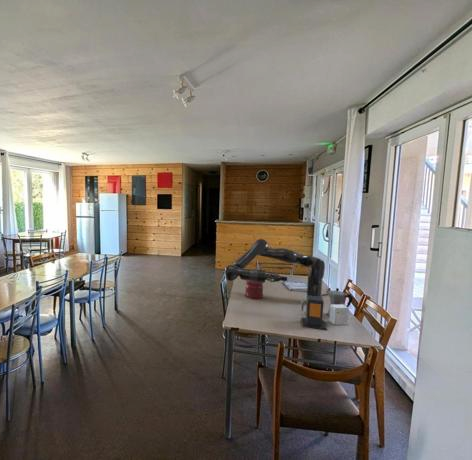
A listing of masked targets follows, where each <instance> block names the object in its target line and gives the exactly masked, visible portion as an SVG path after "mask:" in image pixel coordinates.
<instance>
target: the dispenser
mask: <svg viewBox="0 0 472 460" xmlns="http://www.w3.org/2000/svg"><path fill="white" fill-rule="evenodd" d="M306 299H307V303H306V307H305V311H302V313H303V315H305V317H301V322H302V327H304V328H309V329H316V330H323V331H327V326H326V323H325V320H323V317H324V316H323V315H324V299H323V296H321V297H319V296H310V295H307V294H306Z"/></svg>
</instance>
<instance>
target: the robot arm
mask: <svg viewBox="0 0 472 460" xmlns="http://www.w3.org/2000/svg"><path fill="white" fill-rule="evenodd" d="M257 256H258V257H265V258H270V259H273V260H278V261H280V262H284V263H288V264H293V265H300V266H303V267H306V268H308V269H310V274H308V275H307V285H306V286H307V291H306V296H307V295H310V296H319V297H323V296H329V295H328V294H327V293H323V294H322V290H323V278H324V276H325V268H326V263H325V261H324V260H323V259H322V258H320V257H317V256H311V255H306V254H302V253H299V252H298V251H294V250H292V249H289V248H285V247H277V248H276V247H273V248H272V247H269V243H268V241H267V240H265V239H263V238H259V239H256V240H255V241H254V242H253V243H252V245H251V246H250V248H249V250H247V251H246V252H244V254H242V255H241V256H240V257H238V258H237V259H236V260H235V262H234V263H233V264H228V265H226V266H225V268H224V273H225V279H226V280H227V281H229V282H233V281H235V280H236V279H238V278H240V280H243V281H246V280H250V281H254V282H262V283H263V284H264V283H266V281H268V282H270V283H277V282H280V281H282V282H283V281H288V277H287V276H282V275H280V274H277V273H273V272H271V273H270V272H268V273H267V271H266V270H263V269H251V268H246V267H247V266H248V265H250V263H252V262H253V260H254V259H255V258H257ZM328 291H331V287H329V288H328ZM305 299H306V301H305V302H306V304H307V298H305Z"/></svg>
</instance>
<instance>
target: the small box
mask: <svg viewBox="0 0 472 460" xmlns="http://www.w3.org/2000/svg"><path fill="white" fill-rule="evenodd" d="M345 305H346V304H345ZM345 305H344V303H343V304H335V305H330V304H329V307H330V316H329V322H330V323H331V324H332V325H335V326H339V325H340V326H342V325H343V326H344V325H345V326H346V325H349V324H348V323H349V322H348V321H349V307H346V306H345Z"/></svg>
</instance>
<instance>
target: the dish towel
mask: <svg viewBox="0 0 472 460" xmlns="http://www.w3.org/2000/svg"><path fill="white" fill-rule="evenodd" d="M282 282H283V284H284V286H286V288H287V289H289V290H290V291H294V292H295V291H296V292H307V285H306V284H305V283H304V282H303V281H298V280H287V281H282Z"/></svg>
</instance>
